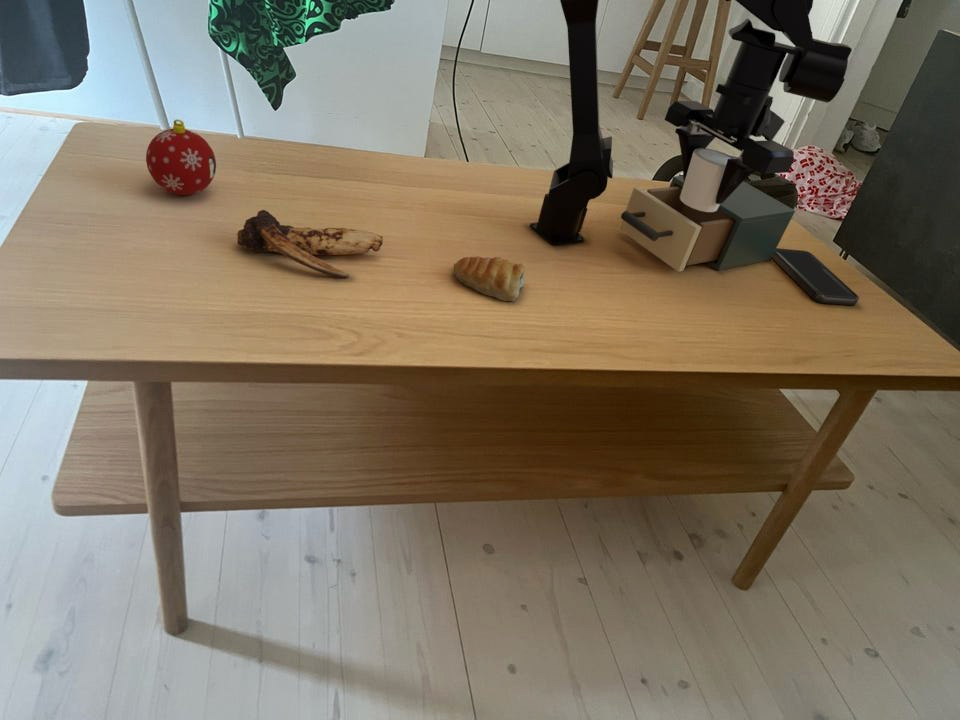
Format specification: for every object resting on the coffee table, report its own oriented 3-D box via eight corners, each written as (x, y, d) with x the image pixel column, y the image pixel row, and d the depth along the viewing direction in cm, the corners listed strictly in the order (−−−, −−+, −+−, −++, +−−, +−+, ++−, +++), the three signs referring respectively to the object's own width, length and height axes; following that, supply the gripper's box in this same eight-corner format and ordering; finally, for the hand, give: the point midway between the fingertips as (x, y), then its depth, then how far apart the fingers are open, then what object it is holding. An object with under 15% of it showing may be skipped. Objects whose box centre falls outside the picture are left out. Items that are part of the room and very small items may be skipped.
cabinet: (718, 271, 106) (742, 218, 101) (653, 227, 115) (673, 176, 110) (770, 260, 113) (795, 210, 108) (706, 219, 122) (726, 171, 117)
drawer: (657, 276, 99) (675, 231, 94) (598, 232, 107) (612, 189, 103) (730, 261, 108) (750, 219, 103) (671, 221, 116) (687, 181, 112)
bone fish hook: (233, 276, 81) (385, 282, 85) (231, 242, 78) (388, 250, 82) (239, 235, 87) (379, 243, 92) (237, 202, 85) (382, 212, 89)
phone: (820, 296, 103) (770, 247, 114) (816, 302, 104) (767, 253, 115) (862, 299, 105) (809, 251, 116) (859, 305, 106) (806, 256, 117)
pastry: (446, 286, 87) (451, 260, 85) (458, 263, 93) (463, 238, 90) (516, 305, 87) (523, 280, 84) (524, 281, 92) (531, 256, 90)
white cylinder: (723, 218, 96) (744, 171, 92) (675, 205, 96) (694, 158, 92) (720, 200, 101) (739, 155, 97) (675, 188, 102) (693, 143, 98)
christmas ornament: (172, 173, 97) (166, 102, 91) (228, 188, 97) (226, 119, 91) (135, 195, 90) (126, 120, 84) (196, 212, 90) (192, 138, 84)
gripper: (844, 109, 87) (787, 219, 96) (735, 61, 99) (694, 164, 108) (792, 109, 81) (737, 226, 91) (683, 58, 93) (644, 167, 102)
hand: (702, 193), depth 98 cm, fingers closed on white cylinder, 6 cm apart
